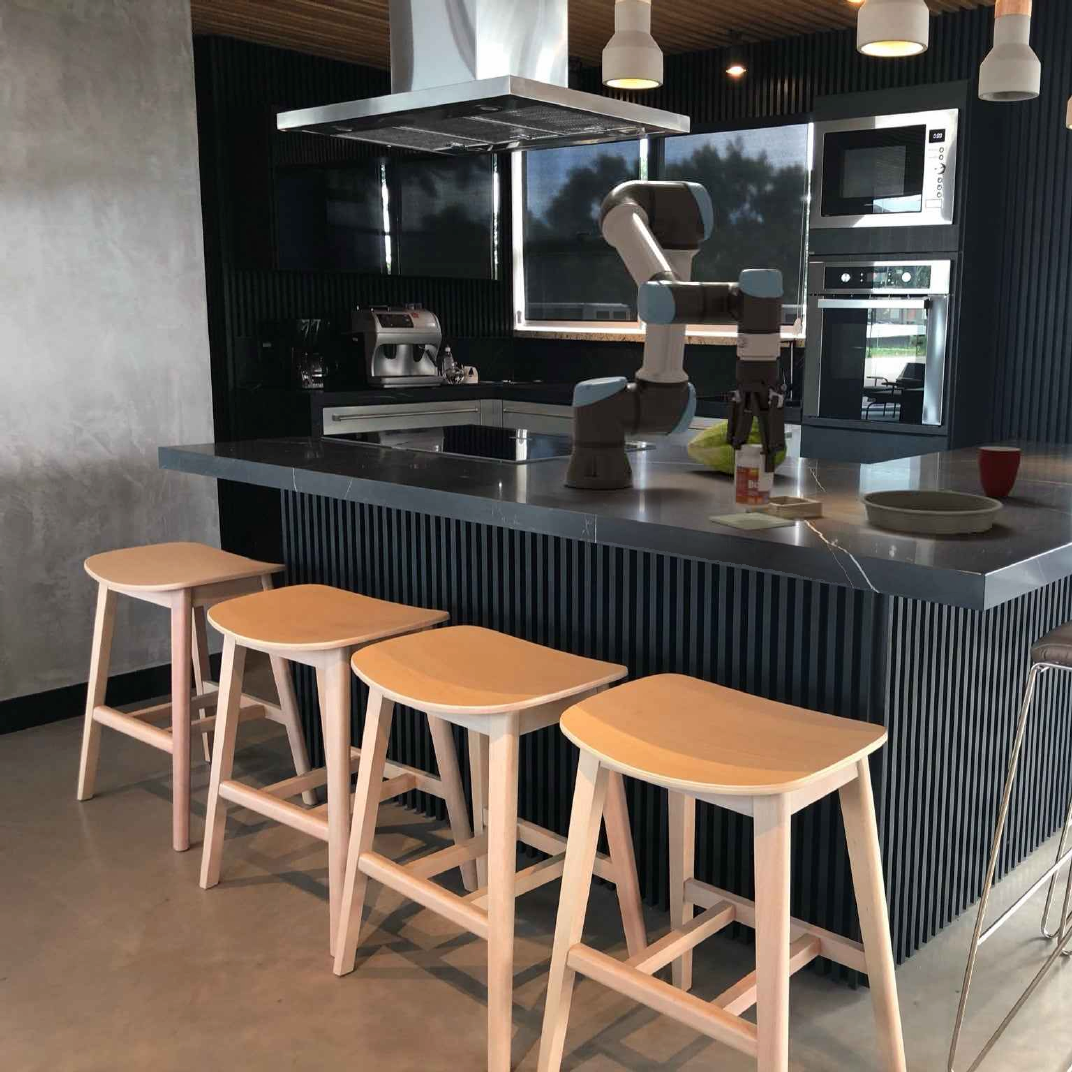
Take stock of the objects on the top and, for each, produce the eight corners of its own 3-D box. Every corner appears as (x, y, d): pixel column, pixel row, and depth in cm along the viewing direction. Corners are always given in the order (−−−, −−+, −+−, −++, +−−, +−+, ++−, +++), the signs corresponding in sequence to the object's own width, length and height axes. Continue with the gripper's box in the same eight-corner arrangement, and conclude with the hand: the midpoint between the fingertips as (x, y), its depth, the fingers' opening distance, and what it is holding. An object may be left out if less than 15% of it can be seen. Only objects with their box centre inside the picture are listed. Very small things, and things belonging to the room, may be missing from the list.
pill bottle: (747, 510, 204) (750, 448, 202) (728, 505, 210) (730, 444, 208) (776, 507, 207) (779, 446, 205) (756, 502, 212) (759, 443, 210)
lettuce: (713, 468, 287) (704, 412, 284) (801, 465, 271) (792, 405, 268) (676, 486, 275) (666, 428, 272) (765, 484, 259) (756, 422, 256)
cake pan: (834, 515, 218) (835, 491, 217) (950, 510, 224) (951, 487, 223) (903, 539, 195) (905, 513, 194) (1031, 534, 200) (1033, 508, 199)
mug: (989, 491, 246) (992, 444, 245) (1027, 495, 241) (1031, 447, 239) (969, 496, 239) (972, 448, 237) (1008, 500, 233) (1012, 452, 232)
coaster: (708, 520, 211) (709, 517, 211) (756, 515, 216) (756, 512, 216) (746, 530, 202) (746, 526, 202) (795, 524, 207) (795, 521, 207)
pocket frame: (745, 511, 221) (746, 498, 220) (786, 507, 225) (787, 494, 225) (779, 519, 212) (780, 506, 211) (821, 515, 217) (822, 502, 216)
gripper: (708, 357, 210) (704, 482, 214) (776, 360, 193) (771, 496, 198) (741, 356, 213) (736, 480, 218) (810, 360, 197) (804, 493, 201)
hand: (753, 487), depth 208 cm, fingers closed on pill bottle, 6 cm apart
